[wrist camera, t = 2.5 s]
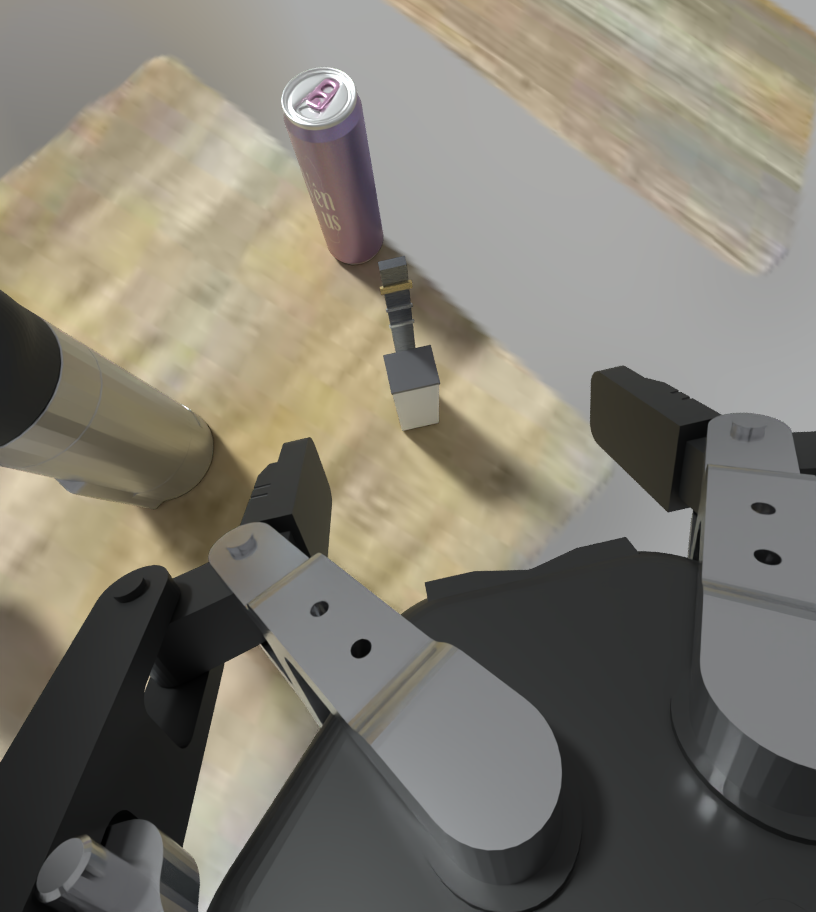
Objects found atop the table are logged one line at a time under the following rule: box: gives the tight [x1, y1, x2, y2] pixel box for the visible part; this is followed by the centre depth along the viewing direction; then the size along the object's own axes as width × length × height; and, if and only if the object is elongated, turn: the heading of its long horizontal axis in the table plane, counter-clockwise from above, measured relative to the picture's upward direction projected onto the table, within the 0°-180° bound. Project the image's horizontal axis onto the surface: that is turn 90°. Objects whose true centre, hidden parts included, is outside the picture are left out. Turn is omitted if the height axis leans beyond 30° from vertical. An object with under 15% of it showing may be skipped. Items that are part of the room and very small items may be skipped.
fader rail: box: [378, 256, 415, 352], centre depth 33 cm, size 2×3×17 cm, turn 102°
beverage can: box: [281, 67, 383, 265], centre depth 38 cm, size 6×6×15 cm
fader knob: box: [383, 345, 440, 431], centre depth 36 cm, size 3×4×9 cm
